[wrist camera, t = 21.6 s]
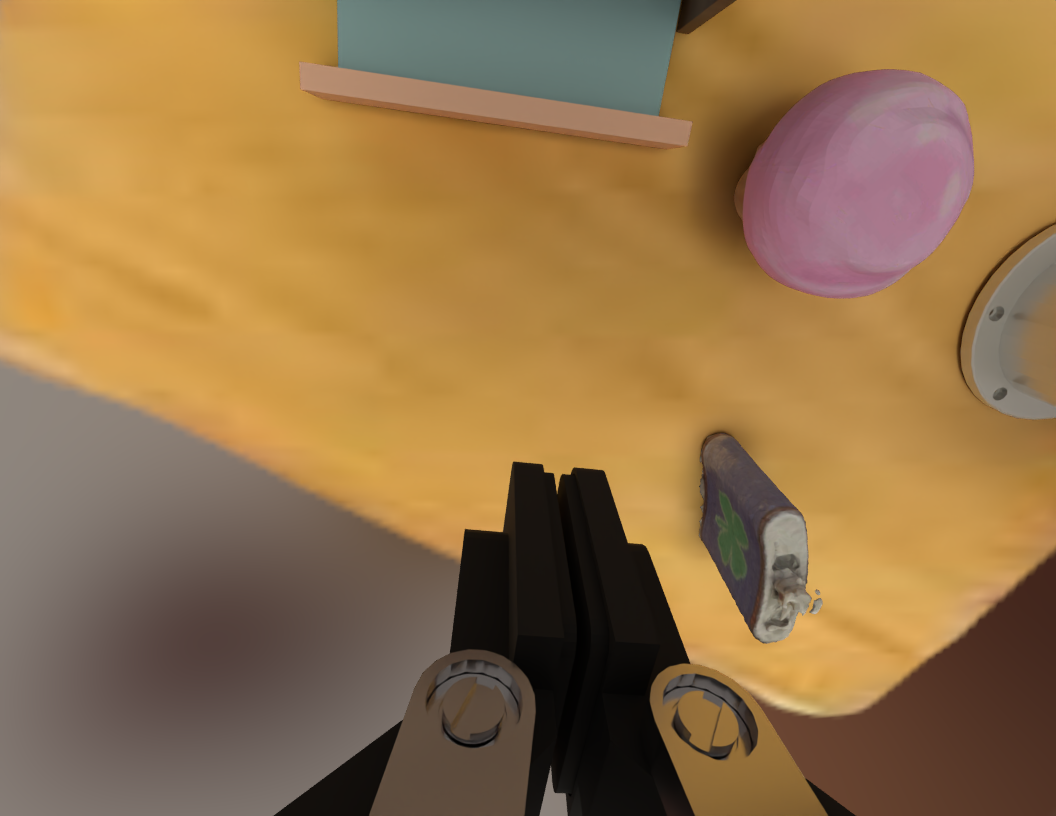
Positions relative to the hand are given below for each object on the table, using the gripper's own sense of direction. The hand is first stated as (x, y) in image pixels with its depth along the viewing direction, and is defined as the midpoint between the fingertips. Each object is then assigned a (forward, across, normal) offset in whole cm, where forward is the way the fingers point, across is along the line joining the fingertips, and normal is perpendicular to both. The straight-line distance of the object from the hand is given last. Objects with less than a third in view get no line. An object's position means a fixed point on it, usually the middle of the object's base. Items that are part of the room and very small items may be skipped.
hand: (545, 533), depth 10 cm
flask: (+22, -15, +12) cm, 29 cm away
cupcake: (+22, -13, -7) cm, 27 cm away
